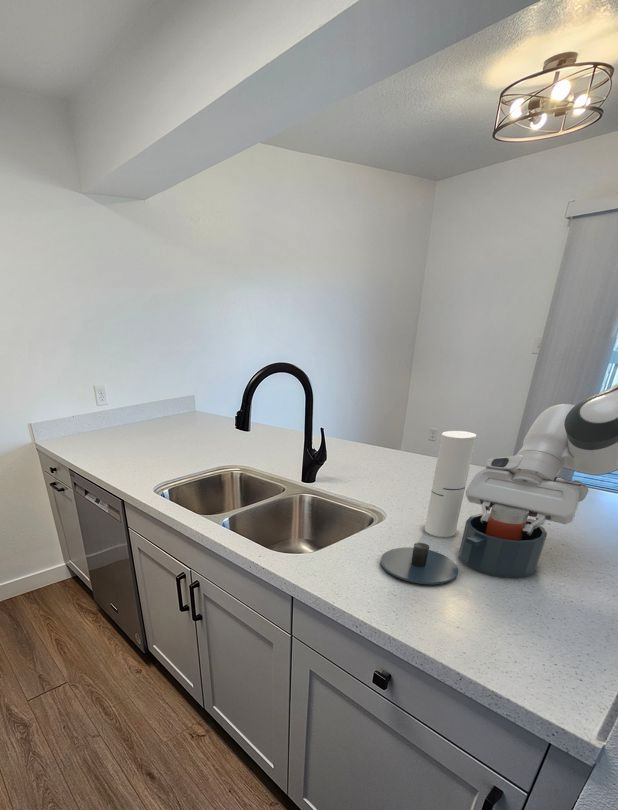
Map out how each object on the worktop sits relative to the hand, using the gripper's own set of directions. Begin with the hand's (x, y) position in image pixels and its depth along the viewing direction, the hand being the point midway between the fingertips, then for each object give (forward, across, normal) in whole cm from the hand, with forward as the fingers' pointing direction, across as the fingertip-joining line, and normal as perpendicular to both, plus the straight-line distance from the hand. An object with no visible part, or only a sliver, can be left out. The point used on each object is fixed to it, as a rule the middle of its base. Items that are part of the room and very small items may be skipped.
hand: (504, 528), depth 93 cm
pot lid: (+15, +11, +4) cm, 19 cm away
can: (+3, 0, -4) cm, 5 cm away
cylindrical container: (+1, +16, -12) cm, 20 cm away
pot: (+5, 0, -7) cm, 9 cm away
